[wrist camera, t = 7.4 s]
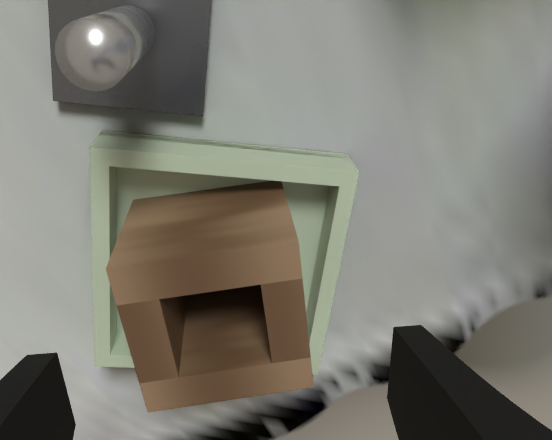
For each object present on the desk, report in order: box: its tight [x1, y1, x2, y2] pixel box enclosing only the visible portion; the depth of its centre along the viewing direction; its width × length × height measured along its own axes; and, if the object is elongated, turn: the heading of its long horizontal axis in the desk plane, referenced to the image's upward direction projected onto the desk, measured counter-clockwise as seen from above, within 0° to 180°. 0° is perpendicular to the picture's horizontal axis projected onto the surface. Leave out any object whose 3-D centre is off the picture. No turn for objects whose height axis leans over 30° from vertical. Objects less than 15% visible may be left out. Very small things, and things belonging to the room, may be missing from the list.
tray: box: [90, 130, 359, 374], centre depth 20 cm, size 9×9×2 cm
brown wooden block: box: [106, 181, 314, 412], centre depth 18 cm, size 6×6×5 cm
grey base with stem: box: [48, 0, 211, 116], centre depth 14 cm, size 5×5×6 cm
